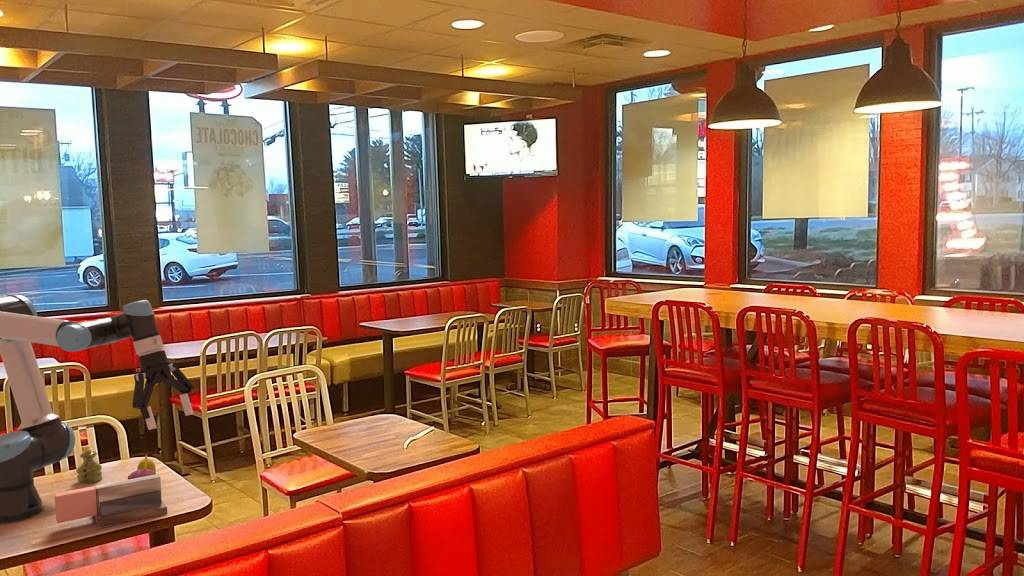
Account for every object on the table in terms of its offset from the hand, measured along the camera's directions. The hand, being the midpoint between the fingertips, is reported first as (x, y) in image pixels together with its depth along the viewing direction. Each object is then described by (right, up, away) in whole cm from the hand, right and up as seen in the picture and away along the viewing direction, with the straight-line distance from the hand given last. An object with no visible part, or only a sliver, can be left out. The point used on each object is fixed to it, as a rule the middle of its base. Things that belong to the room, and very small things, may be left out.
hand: (171, 421), depth 238 cm
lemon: (-19, -24, +27) cm, 41 cm away
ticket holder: (-12, -27, 0) cm, 30 cm away
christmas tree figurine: (-39, -24, +29) cm, 55 cm away
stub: (-23, -26, -9) cm, 36 cm away
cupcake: (-17, -25, +18) cm, 35 cm away
